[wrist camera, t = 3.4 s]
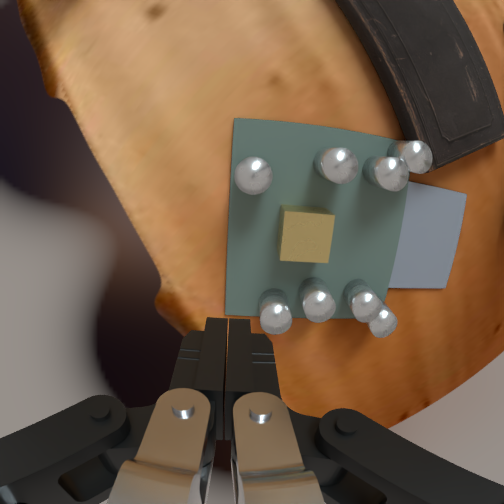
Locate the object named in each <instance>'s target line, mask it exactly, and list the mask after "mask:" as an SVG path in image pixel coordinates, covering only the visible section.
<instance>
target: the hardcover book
mask: <svg viewBox="0 0 504 504" xmlns="http://www.w3.org/2000/svg"><path fill="white" fill-rule="evenodd" d="M336 2H337V3H338V5H339V6H340V8H341V9H342V11H343V12H344V14H345V16H346V17H347V19H348V20H349V22H350V24H351V25H352V27H353V29H354V30H355V32H356V34H357V35H358V37H359V39H360V41H361V42H362V44H363V46H364V48H365V50H366V51H367V53H368V55H369V57H370V59H371V61H372V63H373V65H374V67H375V69H376V71H377V73H378V75H379V77H380V79H381V81H382V83H383V85H384V87H385V90H386V92H387V94H388V96H389V99H390V101H391V103H392V106H393V108H394V110H395V113H396V115H397V118H398V120H399V123H400V125H401V128H402V131H403V133H404V136H405V139H406V141H422V142H424V143H426V144H427V145H428V146H429V148H430V150H431V153H432V164H431V167H430V168H429V170H428V171H427V172H425V173H428V172H431V171H433V170H435V169H437V168H440V167H442V166H444V165H446V164H448V163H451V162H453V161H455V160H457V159H459V158H462V157H464V156H466V155H468V154H470V153H473V152H475V151H477V150H479V149H481V148H484V147H486V146H488V145H490V144H492V143H495V142H497V141H499V140H501V139H503V138H504V114H503V111H502V108H501V105H500V101H499V98H498V95H497V92H496V90H495V87H494V84H493V81H492V79H491V76H490V73H489V71H488V68H487V66H486V64H485V61H484V59H483V57H482V54H481V52H480V50H479V48H478V46H477V44H476V42H475V39H474V37H473V35H472V33H471V32H470V30H469V28H468V26H467V24H466V22H465V20H464V18H463V17H462V15H461V13H460V11H459V10H458V8H457V6H456V5H455V3H454V1H453V0H336Z"/></svg>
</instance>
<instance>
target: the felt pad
mask: <svg viewBox="0 0 504 504" xmlns="http://www.w3.org/2000/svg"><path fill="white" fill-rule="evenodd" d="M466 197H467V194H464V193H460V192H456V191H451V190H447V189H443V188H438V187H434V186H429V185H424V184H420V183H415V182H410V181H409V183H408V190H407V197H406V204H405V210H404V216H403V222H402V228H401V233H400V238H399V243H398V248H397V253H396V257H395V262H394V266H393V270H392V274H391V278H390V282H389V286H388V288H446V284H447V281H448V278H449V274H450V271H451V267H452V264H453V260H454V256H455V252H456V248H457V244H458V239H459V235H460V230H461V225H462V220H463V215H464V209H465V203H466Z"/></svg>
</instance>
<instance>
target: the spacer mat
mask: <svg viewBox="0 0 504 504" xmlns="http://www.w3.org/2000/svg"><path fill="white" fill-rule="evenodd" d="M394 141H398V140H394V139H390V138H385V137H381V136H376V135H371V134H366V133H361V132H355V131H350V130H344V129H338V128H331V127H324V126H317V125H310V124H302V123H293V122H283V121H272V120H259V119H242V118H234V131H233V147H232V163H231V181H230V200H229V221H228V245H227V271H226V303H225V315H240V316H259V317H260V310H259V298H260V296H261V294H262V293H263V292H264V291H266V290H268V289H272V288H276V289H280V290H282V291H283V292H284V293H285V294H286V296H287V299H288V304H289V308H290V312H291V316H292V318H307V317H306V315H305V312H304V309H303V306H302V303H301V300H300V297H299V293H298V289H299V286H300V284H301V283H302V282H303V281H304V280H305V279H307V278H310V277H318V278H320V279H322V280H323V281H324V282H325V284H326V286H327V288H328V290H329V292H330V294H331V296H332V298H333V300H334V301H335V304H336V309H335V312H334V314H333V315H332V317H331V318H355V316H354V314H353V312H352V311H351V309H350V307H349V305H348V304H347V302H346V300H345V299H344V296H343V290H344V288H345V286H346V285H347V283H349V282H350V281H352V280H354V279H362V280H364V281H366V283H367V284H368V285H369V286H370V288H371V289H372V290H373V291H374V293H375V294H376V295H377V296H379V297H380V298H381V299H382V300H383V301H385V298H386V294H387V290H388V286H389V282H390V278H391V274H392V270H393V266H394V262H395V257H396V253H397V248H398V243H399V238H400V233H401V228H402V222H403V216H404V210H405V204H406V197H407V190H408V183H409V177H408V181H407V184H406V185H405V187H404V188H403V189H401V190H399V191H389V190H386V189H383V188H380V187H377V186H374V185H371V184H369V183H368V182H367V181H366V180H365V178H364V176H363V165H364V162H365V161H366V160H367V159H368V158H369V157H371V156H386V157H387V149H388V147H389V145H390V144H391V143H392V142H394ZM324 148H346V149H348V150H350V151H351V152H352V153H353V154H354V155H355V156H356V158H357V161H358V172H357V175H356V176H355V178H354V179H353V180H352V181H350V182H348V183H346V184H337V183H335V182H332V181H329V180H327V179H324V178H322V177H320V176H319V175H318V174H317V173H316V171H315V169H314V166H313V160H314V157H315V155H316V154H317V152H318V151H320V150H321V149H324ZM251 156H255V157H259V158H261V159H263V160H264V161H266V162H267V163H268V164H269V166H270V167H271V170H272V174H273V178H272V182H271V184H270V186H269V187H268V189H267V190H265V191H264V192H262V193H260V194H256V195H251V194H247V193H244V192H243V191H241V190H240V189H239V188H238V186H237V185H236V183H235V179H234V172H235V169H236V167H237V165H238V164H239V163H240V162H241V161H242V160H243V159H245V158H247V157H251ZM408 173H409V174H410V172H408ZM281 204H284V205H296V206H308V207H319V208H326V209H328V210H329V211H330V212H332V213H333V214H334V215H335V220H334V228H333V235H332V241H331V248H330V254H329V261H328V263H315V262H297V261H280V259H279V255H278V252H277V241H278V230H279V219H280V208H281Z"/></svg>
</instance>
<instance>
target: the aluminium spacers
mask: <svg viewBox="0 0 504 504" xmlns="http://www.w3.org/2000/svg"><path fill="white" fill-rule="evenodd" d="M431 164H432V153H431V150H430V148H429V146H428V145H427V144H426V143H424V142H422V141H394V142H392V143H391V144H390V145H389V147H388V149H387V157H386V156H371V157H369V158H368V159H367V160H366V161H365V162H364V165H363V176H364V178H365V180H366V181H367V182H368V183H369V184H371V185H374V186H377V187H380V188H383V189H386V190H389V191H399V190H401V189H403V188H404V187H405V185H406V184H407V181H408V177H409V173H408V172H413V173H418V174H422V173H425V172H427V171H428V170H429V168H430V167H431ZM313 166H314V169H315V171H316V173H317V174H318V175H319V176H320V177H322V178H324V179H327V180H329V181H332V182H335V183H337V184H346V183H348V182H350V181H352V180H353V179H354V178H355V176H356V175H357V172H358V161H357V158H356V156H355V155H354V154H353V153H352V152H351V151H350V150H348V149H346V148H324V149H321V150H320V151H318V152H317V154H316V155H315V157H314V160H313ZM272 178H273V174H272V170H271V167H270V166H269V164H268V163H267V162H266V161H264V160H263V159H261V158H259V157H255V156H251V157H247V158H245V159H243V160H242V161H241V162H240V163H239V164H238V165H237V167H236V169H235V172H234V179H235V183H236V185H237V186H238V188H239V189H240V190H241V191H243V192H244V193H247V194H251V195H256V194H260V193H262V192H264V191H265V190H267V189H268V187H269V186H270V184H271V182H272ZM298 293H299V297H300V300H301V303H302V306H303V309H304V312H305V315H306V317H307V318H308V319H309V320H310V321H312V322H316V323H320V322H324V321H326V320H328V319H329V318H331V317H332V315H333V314H334V312H335V309H336V304H335V301H334V300H333V298H332V296H331V294H330V292H329V290H328V288H327V286H326V284H325V282H324V281H323V280H322V279H320V278H318V277H310V278H307V279H305V280H304V281H303V282H302V283H301V284H300V286H299V289H298ZM343 296H344V299H345V300H346V302H347V304H348V305H349V307H350V309H351V311H352V312H353V314H354V316H355V318H356V319H357V320H358V321H360V322H366V323H367V325H368V327H369V328H370V330H371V332H372V333H373V335H374V336H376V337H378V338H382V337H386V336H388V335H389V334H391V333H392V332H393V331H394V330H395V328H396V326H397V318H396V316H395V315H394V314H393V313H392V311H391V310H390V309H389V307H388V306H387V305H386V304H385V302H384V301H383V300H382V299H381V298H380V297H379V296H377V295H376V294H375V293H374V291H373V290H372V289H371V288H370V286H369V285H368V284H367V283H366V281H364V280H362V279H354V280H352V281H350V282H349V283H347V285H346V286H345V288H344V290H343ZM259 310H260V325H261V327H262V329H263V330H264V331H265V332H267V333H269V334H274V335H276V334H281V333H284V332H286V331H287V330H288V329H289V328H290V326H291V324H292V316H291V312H290V308H289V304H288V299H287V296H286V294H285V293H284V292H283V291H282V290H280V289H276V288H272V289H268V290H266V291H264V292H263V293H262V294H261V296H260V298H259Z"/></svg>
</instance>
